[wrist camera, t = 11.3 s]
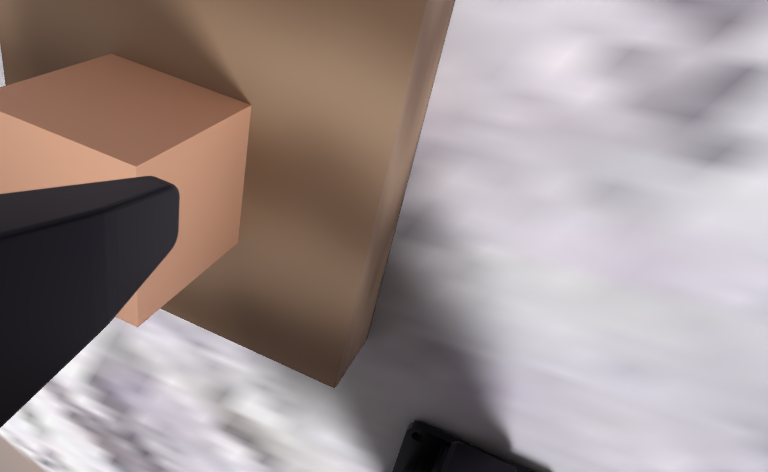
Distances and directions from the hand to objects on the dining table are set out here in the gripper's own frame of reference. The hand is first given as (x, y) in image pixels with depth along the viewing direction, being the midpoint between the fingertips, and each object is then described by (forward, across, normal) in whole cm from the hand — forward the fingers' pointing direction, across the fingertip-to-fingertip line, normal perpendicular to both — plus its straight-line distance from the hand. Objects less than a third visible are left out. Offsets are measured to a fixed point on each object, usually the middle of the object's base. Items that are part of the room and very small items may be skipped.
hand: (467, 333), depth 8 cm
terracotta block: (+9, +11, +5) cm, 15 cm away
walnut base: (+12, +11, +5) cm, 17 cm away
